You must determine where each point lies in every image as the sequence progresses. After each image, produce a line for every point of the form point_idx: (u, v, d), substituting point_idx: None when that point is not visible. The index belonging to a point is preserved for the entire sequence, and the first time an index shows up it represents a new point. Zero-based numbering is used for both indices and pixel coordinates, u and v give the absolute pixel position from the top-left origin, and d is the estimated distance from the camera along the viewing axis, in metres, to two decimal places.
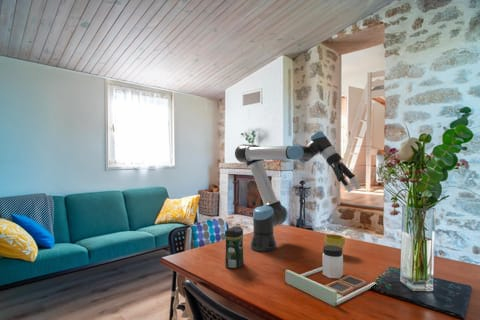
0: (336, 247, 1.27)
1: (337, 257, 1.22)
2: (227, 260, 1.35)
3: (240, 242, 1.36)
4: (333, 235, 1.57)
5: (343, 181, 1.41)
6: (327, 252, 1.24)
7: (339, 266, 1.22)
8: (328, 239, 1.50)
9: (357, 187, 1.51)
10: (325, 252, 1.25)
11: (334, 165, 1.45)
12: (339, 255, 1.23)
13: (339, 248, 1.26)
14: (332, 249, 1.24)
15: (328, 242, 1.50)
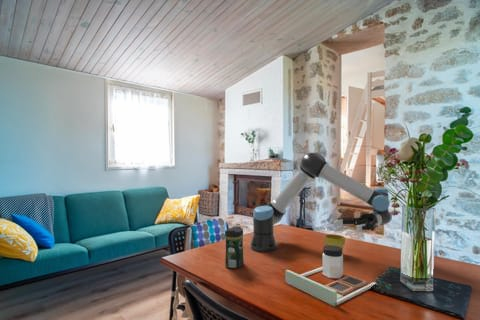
0: (336, 247, 1.27)
1: (337, 257, 1.22)
2: (227, 260, 1.35)
3: (240, 242, 1.36)
4: (333, 235, 1.57)
5: (367, 227, 1.29)
6: (327, 252, 1.24)
7: (339, 266, 1.22)
8: (328, 239, 1.50)
9: (335, 223, 1.37)
10: (325, 252, 1.25)
11: (376, 225, 1.35)
12: (339, 255, 1.23)
13: (339, 248, 1.26)
14: (332, 249, 1.24)
15: (328, 242, 1.50)
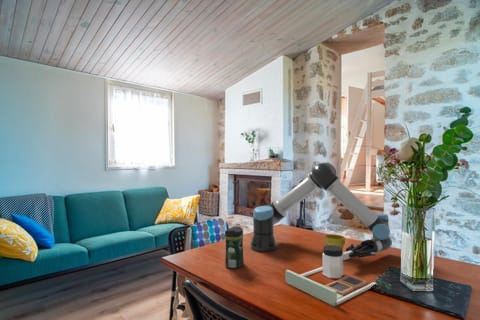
0: (336, 247, 1.27)
1: (337, 257, 1.22)
2: (227, 260, 1.35)
3: (240, 242, 1.36)
4: (333, 235, 1.57)
5: (353, 255, 1.33)
6: (327, 252, 1.24)
7: (339, 266, 1.22)
8: (328, 239, 1.50)
9: None
10: (325, 252, 1.25)
11: (372, 254, 1.35)
12: (339, 255, 1.23)
13: (339, 248, 1.26)
14: (332, 249, 1.24)
15: (328, 242, 1.50)
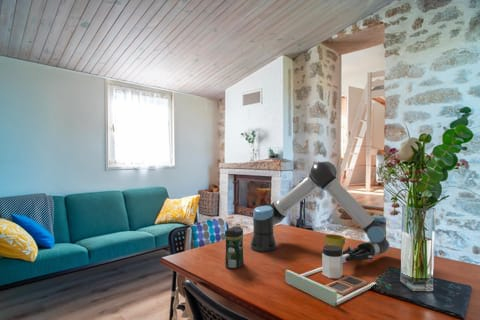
0: (336, 247, 1.27)
1: (337, 257, 1.22)
2: (227, 260, 1.35)
3: (240, 242, 1.36)
4: (333, 235, 1.57)
5: (350, 258, 1.30)
6: (327, 252, 1.24)
7: (339, 266, 1.22)
8: (328, 239, 1.50)
9: None
10: (325, 252, 1.25)
11: (369, 257, 1.33)
12: (339, 255, 1.23)
13: (339, 248, 1.26)
14: (332, 249, 1.24)
15: (328, 242, 1.50)
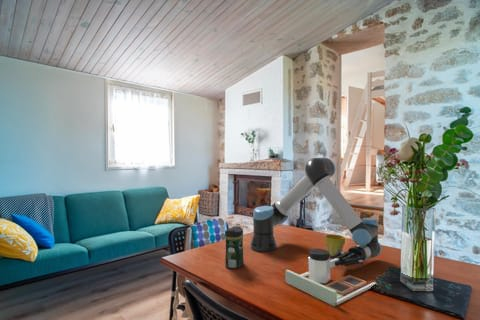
0: (323, 251, 1.22)
1: (323, 261, 1.18)
2: (227, 260, 1.35)
3: (240, 242, 1.36)
4: (333, 235, 1.57)
5: (340, 263, 1.25)
6: (312, 256, 1.19)
7: (325, 271, 1.18)
8: (328, 239, 1.50)
9: None
10: (311, 256, 1.20)
11: (360, 262, 1.27)
12: (325, 259, 1.18)
13: (326, 252, 1.21)
14: (318, 253, 1.20)
15: (328, 242, 1.50)
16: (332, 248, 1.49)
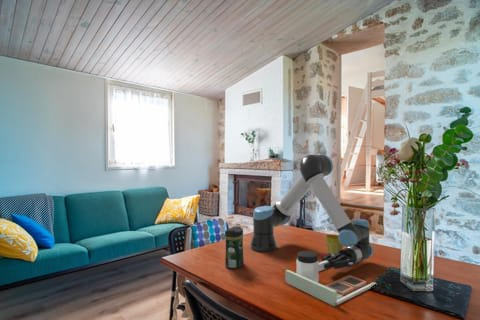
0: (311, 253, 1.19)
1: (310, 264, 1.15)
2: (227, 260, 1.35)
3: (240, 242, 1.36)
4: (333, 235, 1.57)
5: (329, 265, 1.22)
6: (300, 258, 1.17)
7: (312, 273, 1.15)
8: (328, 239, 1.50)
9: None
10: (298, 258, 1.18)
11: (350, 264, 1.24)
12: (312, 262, 1.15)
13: (314, 254, 1.18)
14: (305, 255, 1.17)
15: (328, 242, 1.50)
16: (332, 248, 1.49)
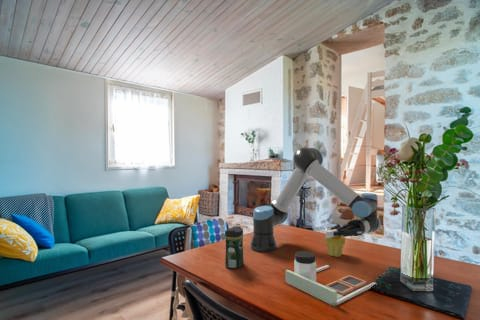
0: (309, 253, 1.19)
1: (307, 264, 1.14)
2: (227, 260, 1.35)
3: (240, 242, 1.36)
4: None
5: (338, 233, 1.26)
6: (297, 258, 1.17)
7: (309, 274, 1.14)
8: (328, 239, 1.50)
9: None
10: (296, 258, 1.18)
11: (358, 233, 1.28)
12: (309, 262, 1.15)
13: (312, 255, 1.17)
14: (303, 255, 1.17)
15: (328, 242, 1.50)
16: (332, 248, 1.49)
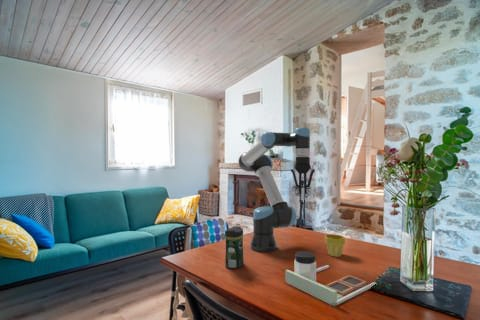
0: (309, 253, 1.19)
1: (307, 264, 1.14)
2: (227, 260, 1.35)
3: (240, 242, 1.36)
4: (333, 235, 1.57)
5: (299, 189, 1.53)
6: (297, 258, 1.17)
7: (309, 274, 1.14)
8: (328, 239, 1.50)
9: None
10: (296, 258, 1.18)
11: (292, 172, 1.53)
12: (309, 262, 1.15)
13: (312, 255, 1.17)
14: (303, 255, 1.17)
15: (328, 242, 1.50)
16: (332, 248, 1.49)
